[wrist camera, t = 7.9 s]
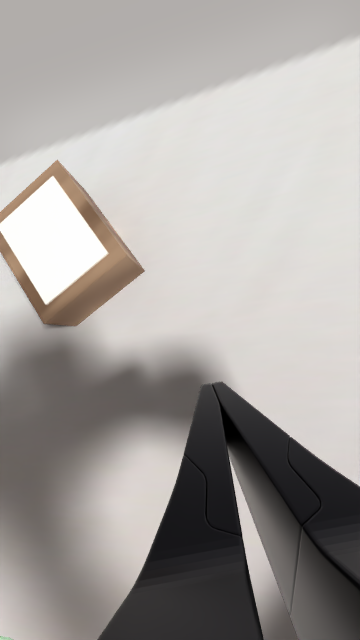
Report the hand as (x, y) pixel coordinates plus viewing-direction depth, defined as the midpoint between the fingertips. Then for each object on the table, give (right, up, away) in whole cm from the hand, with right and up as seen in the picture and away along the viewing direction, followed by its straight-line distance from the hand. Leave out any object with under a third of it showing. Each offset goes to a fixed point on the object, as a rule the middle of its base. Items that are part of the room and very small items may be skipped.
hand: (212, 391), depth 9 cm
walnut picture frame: (-8, +5, +9) cm, 13 cm away
